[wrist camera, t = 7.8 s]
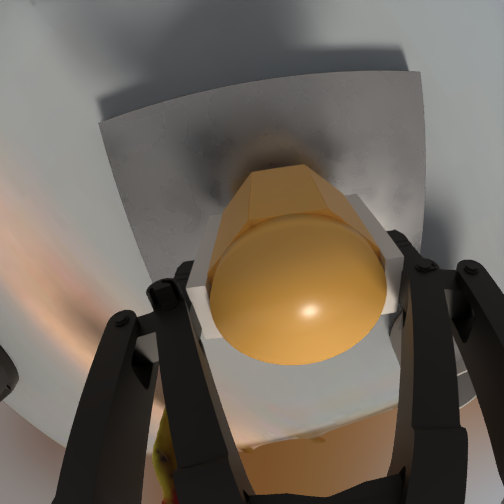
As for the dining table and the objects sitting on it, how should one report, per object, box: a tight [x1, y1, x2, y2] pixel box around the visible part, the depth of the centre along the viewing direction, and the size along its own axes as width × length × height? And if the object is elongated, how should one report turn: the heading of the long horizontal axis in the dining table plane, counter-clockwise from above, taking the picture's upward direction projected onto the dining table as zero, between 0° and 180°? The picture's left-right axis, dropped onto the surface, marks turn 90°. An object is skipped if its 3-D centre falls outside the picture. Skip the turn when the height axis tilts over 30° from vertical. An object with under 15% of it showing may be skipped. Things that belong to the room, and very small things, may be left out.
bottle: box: [152, 407, 179, 504], centre depth 26 cm, size 12×6×20 cm, turn 19°
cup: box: [390, 313, 476, 409], centre depth 22 cm, size 7×10×9 cm
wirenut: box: [207, 164, 387, 365], centre depth 14 cm, size 7×7×7 cm
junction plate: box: [99, 71, 426, 283], centre depth 18 cm, size 20×16×6 cm
